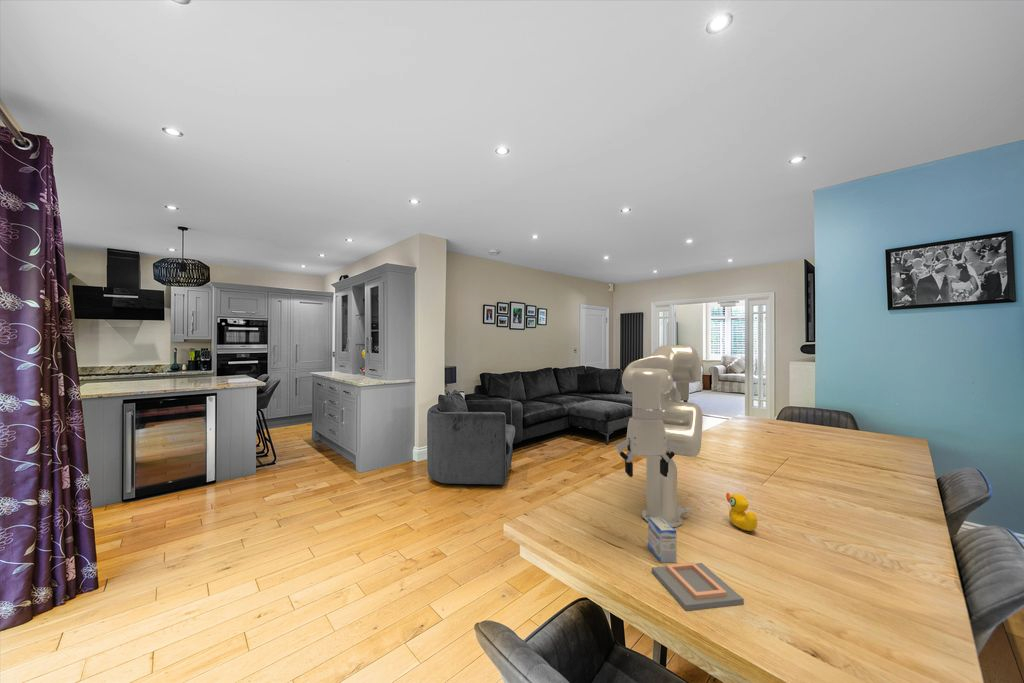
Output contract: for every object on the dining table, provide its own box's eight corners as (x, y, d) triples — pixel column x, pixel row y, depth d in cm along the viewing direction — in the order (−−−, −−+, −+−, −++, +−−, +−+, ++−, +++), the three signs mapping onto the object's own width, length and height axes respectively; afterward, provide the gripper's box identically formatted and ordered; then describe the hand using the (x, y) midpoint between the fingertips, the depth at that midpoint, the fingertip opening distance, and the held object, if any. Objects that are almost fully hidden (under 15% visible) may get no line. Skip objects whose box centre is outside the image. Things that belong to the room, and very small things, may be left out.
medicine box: (647, 547, 105) (647, 517, 105) (662, 547, 105) (662, 516, 105) (661, 563, 97) (660, 530, 97) (677, 563, 97) (677, 529, 98)
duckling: (720, 519, 123) (719, 489, 123) (734, 518, 124) (734, 488, 124) (747, 536, 111) (746, 503, 112) (762, 535, 112) (762, 502, 113)
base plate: (701, 567, 95) (701, 558, 95) (743, 604, 81) (743, 594, 82) (651, 572, 93) (651, 563, 93) (686, 610, 79) (686, 600, 79)
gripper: (670, 412, 108) (670, 470, 107) (611, 412, 107) (612, 471, 107) (683, 416, 100) (683, 480, 100) (620, 416, 99) (620, 480, 99)
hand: (646, 475), depth 103 cm, fingers open, 9 cm apart
